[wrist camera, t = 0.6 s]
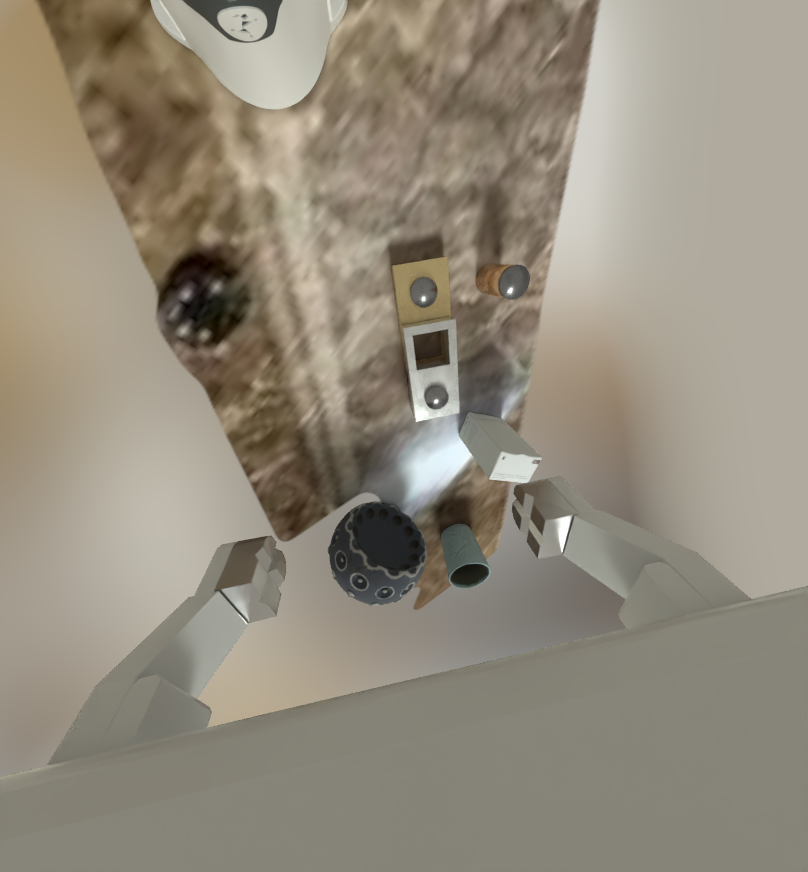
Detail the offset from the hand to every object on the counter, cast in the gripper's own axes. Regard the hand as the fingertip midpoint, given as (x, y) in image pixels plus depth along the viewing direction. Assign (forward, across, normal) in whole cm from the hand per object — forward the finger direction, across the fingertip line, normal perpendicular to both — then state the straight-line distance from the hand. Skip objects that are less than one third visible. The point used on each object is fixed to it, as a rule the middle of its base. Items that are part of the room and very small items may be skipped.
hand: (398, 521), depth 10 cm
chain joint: (+42, -9, +6) cm, 44 cm away
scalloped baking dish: (+42, +6, +44) cm, 61 cm away
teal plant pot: (+42, -13, +58) cm, 73 cm away
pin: (+42, -20, -2) cm, 47 cm away
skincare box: (+42, -20, +25) cm, 53 cm away
